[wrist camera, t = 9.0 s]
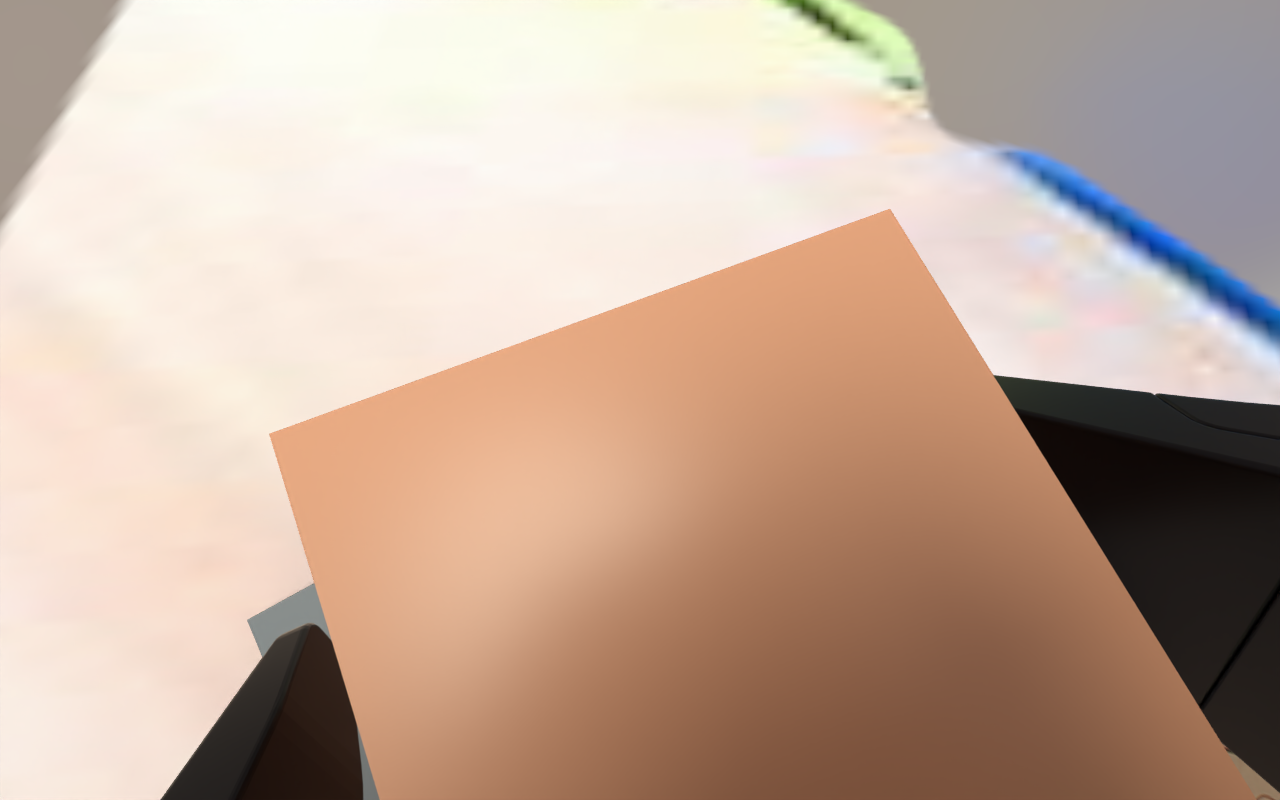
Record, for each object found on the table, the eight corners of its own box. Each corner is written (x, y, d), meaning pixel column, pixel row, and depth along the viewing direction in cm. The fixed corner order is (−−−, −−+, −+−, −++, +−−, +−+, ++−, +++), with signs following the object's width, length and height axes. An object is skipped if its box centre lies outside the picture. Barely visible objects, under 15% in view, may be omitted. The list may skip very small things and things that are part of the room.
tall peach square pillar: (732, 615, 15) (1273, 826, 4) (571, 700, 14) (567, 1422, 2) (660, 458, 16) (890, 209, 5) (504, 526, 15) (269, 432, 3)
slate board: (1017, 802, 16) (1051, 821, 15) (541, 1251, 12) (538, 1324, 11) (731, 361, 19) (741, 349, 18) (271, 615, 15) (247, 620, 14)
